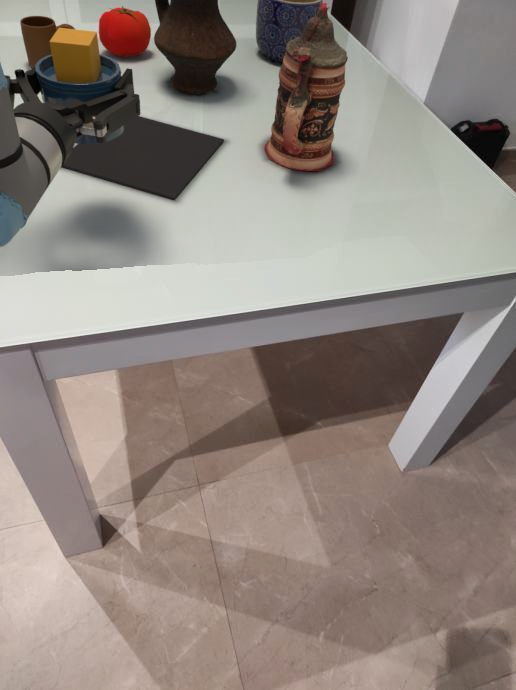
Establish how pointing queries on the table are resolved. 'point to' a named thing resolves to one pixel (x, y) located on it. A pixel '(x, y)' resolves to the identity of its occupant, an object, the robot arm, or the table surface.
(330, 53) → the beer stein
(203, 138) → the mat
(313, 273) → the table surface
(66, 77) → the block
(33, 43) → the mug
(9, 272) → the table surface
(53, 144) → the robot arm
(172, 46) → the jug
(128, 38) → the tomato
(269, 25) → the planter
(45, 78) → the blue paint bucket
